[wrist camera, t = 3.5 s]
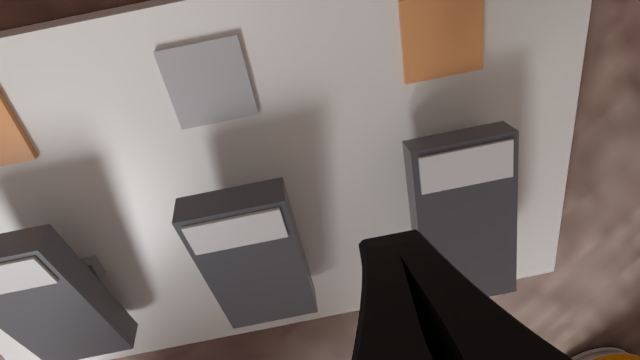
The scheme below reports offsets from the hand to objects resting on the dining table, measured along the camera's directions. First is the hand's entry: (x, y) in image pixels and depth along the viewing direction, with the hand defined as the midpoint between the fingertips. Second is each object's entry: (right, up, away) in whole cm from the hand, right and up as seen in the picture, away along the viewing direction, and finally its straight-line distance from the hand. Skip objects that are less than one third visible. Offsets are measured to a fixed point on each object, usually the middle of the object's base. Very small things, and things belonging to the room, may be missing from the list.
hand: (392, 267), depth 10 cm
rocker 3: (+3, +1, +4) cm, 5 cm away
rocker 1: (-11, -2, +4) cm, 12 cm away
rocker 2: (-4, -1, +4) cm, 6 cm away
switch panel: (-4, +2, +7) cm, 8 cm away
